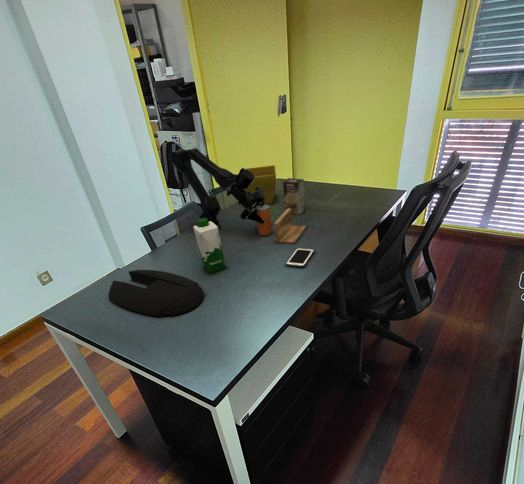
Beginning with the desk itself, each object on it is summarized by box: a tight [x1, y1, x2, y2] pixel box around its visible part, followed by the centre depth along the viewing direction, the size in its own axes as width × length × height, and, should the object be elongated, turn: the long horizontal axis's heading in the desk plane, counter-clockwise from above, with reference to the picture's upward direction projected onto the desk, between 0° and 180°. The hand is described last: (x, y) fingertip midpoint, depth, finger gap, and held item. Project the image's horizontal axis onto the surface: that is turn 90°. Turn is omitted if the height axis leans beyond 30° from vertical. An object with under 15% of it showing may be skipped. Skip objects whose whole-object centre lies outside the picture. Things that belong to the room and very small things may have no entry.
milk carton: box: [192, 218, 226, 275], centre depth 132 cm, size 9×9×20 cm
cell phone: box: [285, 247, 315, 268], centre depth 136 cm, size 8×15×1 cm, turn 156°
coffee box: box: [282, 177, 305, 215], centre depth 172 cm, size 9×6×16 cm
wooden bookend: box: [273, 208, 307, 245], centre depth 152 cm, size 9×18×9 cm, turn 157°
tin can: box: [256, 204, 273, 237], centre depth 156 cm, size 7×7×13 cm
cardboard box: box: [245, 164, 277, 205], centre depth 191 cm, size 19×19×17 cm
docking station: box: [108, 269, 205, 318], centre depth 125 cm, size 25×40×5 cm, turn 58°
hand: (266, 220), depth 155 cm, fingers closed on tin can, 6 cm apart
